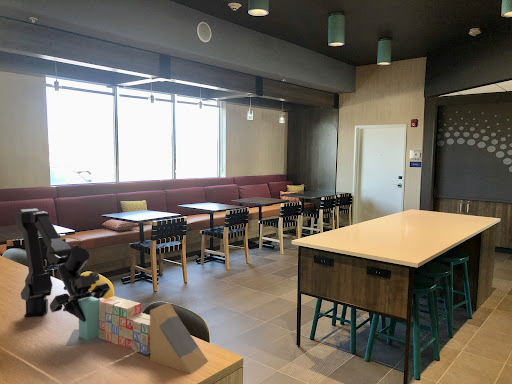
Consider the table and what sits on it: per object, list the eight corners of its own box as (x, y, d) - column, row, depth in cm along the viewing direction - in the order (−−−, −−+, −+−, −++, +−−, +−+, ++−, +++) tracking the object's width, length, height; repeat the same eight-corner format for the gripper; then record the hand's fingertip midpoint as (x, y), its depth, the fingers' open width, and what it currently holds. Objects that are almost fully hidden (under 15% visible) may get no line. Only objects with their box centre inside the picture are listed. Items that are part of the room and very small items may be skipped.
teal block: (79, 336, 128) (78, 300, 127) (91, 331, 132) (91, 296, 131) (87, 340, 126) (87, 303, 125) (100, 335, 130) (100, 299, 129)
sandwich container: (191, 374, 108) (191, 321, 107) (149, 360, 115) (149, 310, 114) (209, 361, 115) (210, 311, 114) (169, 348, 123) (169, 301, 122)
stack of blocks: (161, 348, 123) (163, 309, 122) (147, 356, 117) (148, 315, 116) (113, 331, 133) (114, 295, 132) (97, 337, 127) (98, 300, 127)
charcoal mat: (65, 347, 122) (65, 345, 122) (73, 331, 133) (73, 329, 133) (106, 344, 124) (106, 342, 124) (111, 328, 136) (111, 327, 136)
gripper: (54, 271, 122) (74, 314, 116) (106, 259, 137) (127, 297, 132) (41, 291, 127) (60, 333, 121) (93, 277, 142) (112, 315, 137)
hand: (92, 318), depth 128 cm, fingers closed on teal block, 5 cm apart
